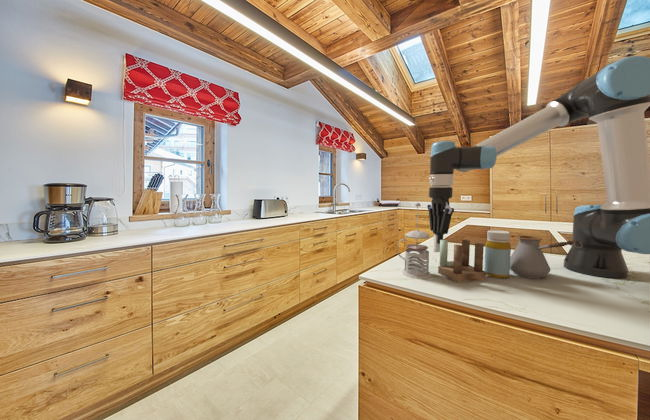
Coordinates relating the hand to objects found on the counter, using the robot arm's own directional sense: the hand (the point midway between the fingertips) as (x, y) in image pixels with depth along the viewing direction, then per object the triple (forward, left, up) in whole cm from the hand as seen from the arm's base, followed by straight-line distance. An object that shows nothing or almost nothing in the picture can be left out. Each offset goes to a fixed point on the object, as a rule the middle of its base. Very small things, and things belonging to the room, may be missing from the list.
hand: (437, 251), depth 89 cm
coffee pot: (-25, +16, -7) cm, 31 cm away
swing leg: (-2, +4, -4) cm, 6 cm away
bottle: (-16, +10, -7) cm, 20 cm away
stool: (-4, +8, -7) cm, 11 cm away
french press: (+10, +2, -7) cm, 13 cm away
